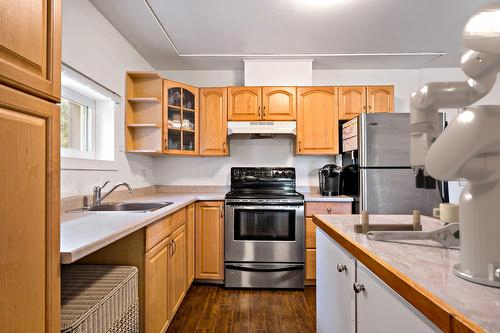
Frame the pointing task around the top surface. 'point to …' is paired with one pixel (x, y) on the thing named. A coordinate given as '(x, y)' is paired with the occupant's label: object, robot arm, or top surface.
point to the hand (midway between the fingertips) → (425, 188)
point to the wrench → (422, 235)
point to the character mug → (448, 215)
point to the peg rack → (387, 225)
